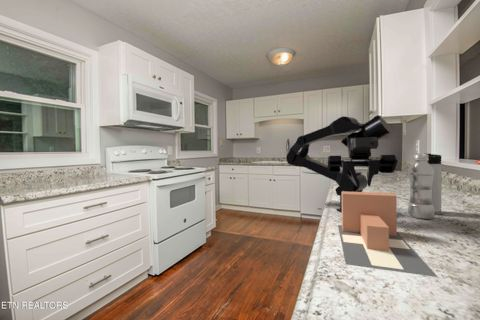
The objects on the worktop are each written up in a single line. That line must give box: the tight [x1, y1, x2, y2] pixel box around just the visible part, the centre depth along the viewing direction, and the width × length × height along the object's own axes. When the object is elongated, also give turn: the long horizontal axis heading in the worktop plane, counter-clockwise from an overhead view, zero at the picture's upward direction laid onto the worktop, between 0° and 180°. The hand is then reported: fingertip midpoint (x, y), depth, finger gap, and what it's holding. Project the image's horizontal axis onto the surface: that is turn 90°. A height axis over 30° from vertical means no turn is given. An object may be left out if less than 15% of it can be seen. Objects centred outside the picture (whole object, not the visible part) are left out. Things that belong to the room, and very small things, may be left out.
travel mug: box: [427, 153, 443, 216], centre depth 76 cm, size 6×7×20 cm
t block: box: [341, 191, 398, 251], centre depth 54 cm, size 14×12×10 cm
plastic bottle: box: [407, 153, 435, 220], centre depth 69 cm, size 6×7×20 cm
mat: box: [337, 224, 439, 278], centre depth 50 cm, size 24×14×1 cm, turn 160°
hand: (363, 185), depth 64 cm, fingers open, 3 cm apart
